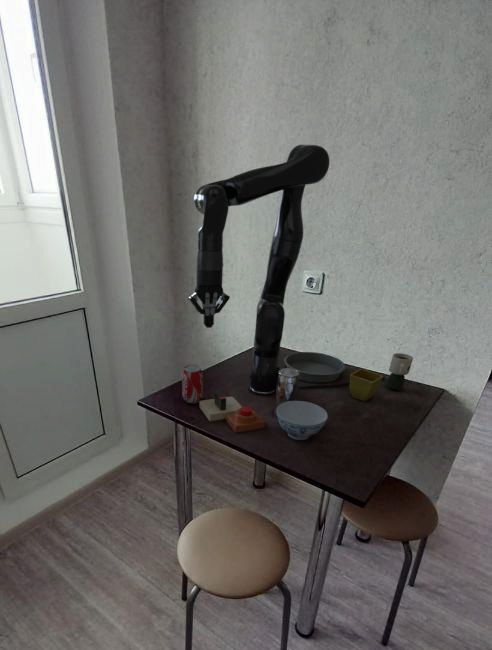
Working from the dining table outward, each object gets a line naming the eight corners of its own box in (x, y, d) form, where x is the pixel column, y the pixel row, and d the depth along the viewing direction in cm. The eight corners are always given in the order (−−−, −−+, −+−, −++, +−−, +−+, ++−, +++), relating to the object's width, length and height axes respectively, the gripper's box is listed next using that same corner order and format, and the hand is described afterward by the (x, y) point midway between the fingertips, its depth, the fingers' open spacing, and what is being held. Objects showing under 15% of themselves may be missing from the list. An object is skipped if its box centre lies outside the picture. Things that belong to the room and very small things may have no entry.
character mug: (405, 395, 150) (415, 362, 144) (385, 392, 152) (394, 360, 145) (402, 384, 159) (411, 352, 153) (383, 381, 161) (391, 350, 154)
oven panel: (231, 402, 140) (232, 395, 138) (245, 417, 131) (245, 409, 130) (199, 407, 136) (199, 400, 134) (210, 422, 127) (211, 415, 126)
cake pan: (271, 372, 165) (272, 361, 162) (302, 357, 181) (303, 347, 179) (325, 390, 151) (327, 379, 149) (353, 372, 168) (355, 362, 165)
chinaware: (290, 452, 115) (294, 428, 111) (265, 426, 126) (267, 405, 122) (333, 442, 120) (338, 419, 116) (305, 419, 132) (308, 397, 128)
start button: (248, 410, 128) (248, 405, 127) (253, 415, 125) (253, 410, 124) (238, 412, 126) (238, 407, 125) (242, 417, 123) (243, 412, 123)
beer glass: (280, 420, 130) (286, 378, 122) (268, 411, 135) (273, 369, 127) (297, 416, 133) (304, 374, 125) (285, 407, 138) (291, 366, 130)
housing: (253, 415, 132) (254, 405, 130) (264, 427, 126) (265, 416, 124) (225, 420, 129) (226, 409, 127) (235, 432, 123) (236, 421, 120)
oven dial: (214, 403, 133) (214, 391, 131) (219, 402, 134) (219, 390, 132) (220, 410, 129) (221, 398, 127) (225, 410, 130) (226, 398, 127)
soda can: (199, 406, 137) (200, 373, 130) (179, 403, 138) (179, 370, 132) (204, 397, 143) (205, 365, 136) (185, 394, 144) (185, 363, 137)
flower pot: (378, 398, 147) (384, 375, 143) (367, 405, 142) (373, 382, 137) (355, 390, 152) (361, 368, 148) (344, 397, 147) (349, 374, 142)
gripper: (226, 264, 120) (223, 322, 129) (183, 265, 115) (184, 325, 124) (236, 268, 114) (233, 328, 123) (191, 269, 109) (191, 332, 118)
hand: (208, 326), depth 124 cm, fingers closed
